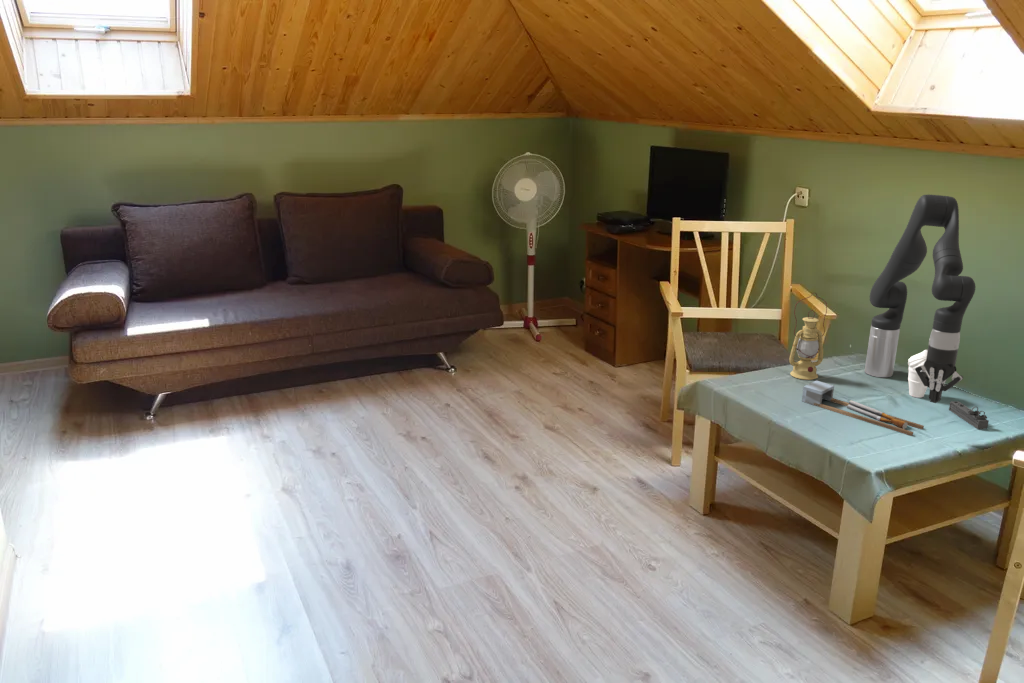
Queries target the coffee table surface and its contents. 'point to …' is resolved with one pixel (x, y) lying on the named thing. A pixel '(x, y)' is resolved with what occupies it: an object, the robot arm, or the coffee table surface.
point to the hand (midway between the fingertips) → (934, 401)
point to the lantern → (807, 348)
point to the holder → (821, 390)
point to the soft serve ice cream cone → (916, 375)
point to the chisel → (891, 420)
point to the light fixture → (969, 415)
